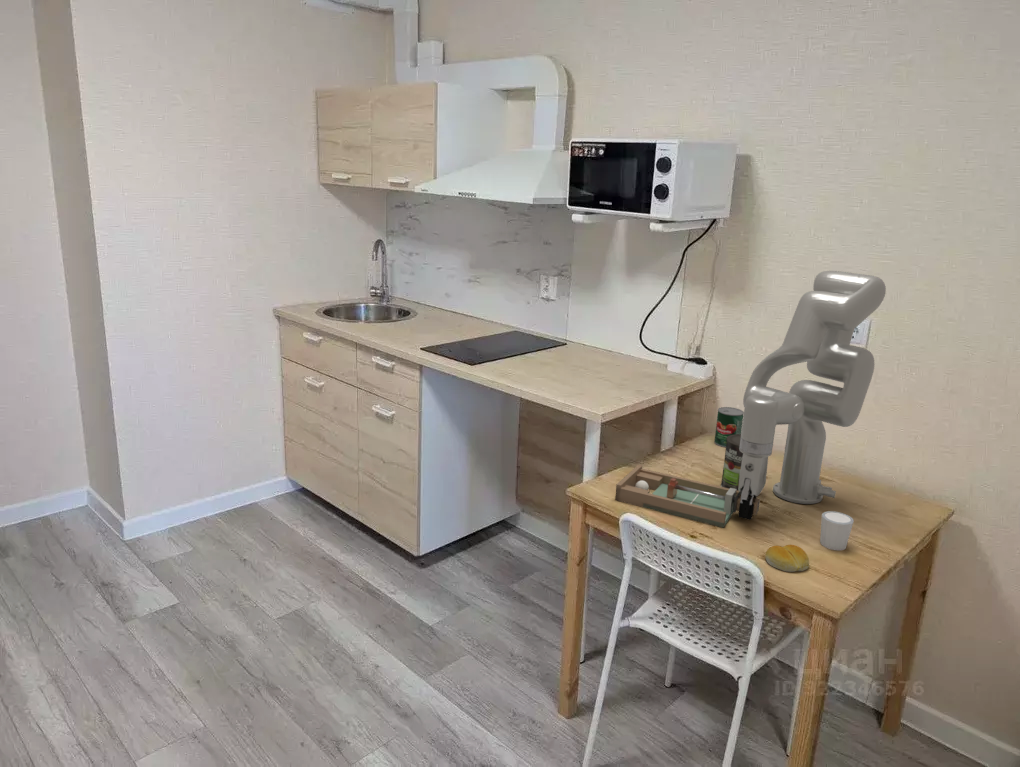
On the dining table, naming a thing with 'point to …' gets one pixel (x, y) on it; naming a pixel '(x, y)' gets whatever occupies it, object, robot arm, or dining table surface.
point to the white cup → (835, 530)
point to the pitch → (677, 497)
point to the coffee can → (732, 462)
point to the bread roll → (787, 558)
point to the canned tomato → (728, 424)
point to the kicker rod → (708, 495)
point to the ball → (642, 485)
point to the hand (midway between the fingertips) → (746, 514)
